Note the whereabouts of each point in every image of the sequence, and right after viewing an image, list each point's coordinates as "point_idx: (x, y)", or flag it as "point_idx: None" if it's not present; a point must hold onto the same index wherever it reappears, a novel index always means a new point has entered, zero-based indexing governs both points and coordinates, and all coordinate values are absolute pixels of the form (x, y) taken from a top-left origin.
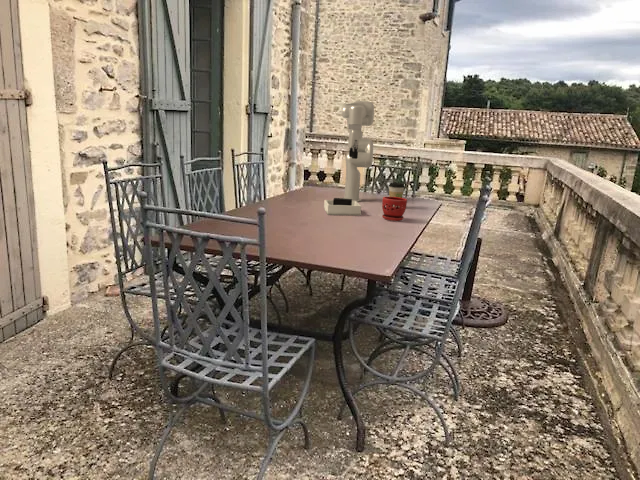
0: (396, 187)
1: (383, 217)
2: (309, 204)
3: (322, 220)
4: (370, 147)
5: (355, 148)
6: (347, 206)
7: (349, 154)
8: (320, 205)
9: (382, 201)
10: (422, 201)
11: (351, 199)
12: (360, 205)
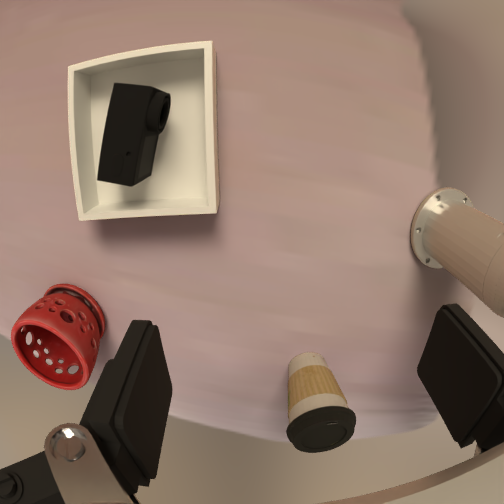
0: (289, 425)
1: (58, 284)
2: (332, 7)
3: (10, 69)
4: None
5: (2, 481)
6: (72, 155)
7: (461, 328)
8: (316, 49)
9: (42, 310)
10: (393, 428)
11: (118, 182)
12: (91, 219)
